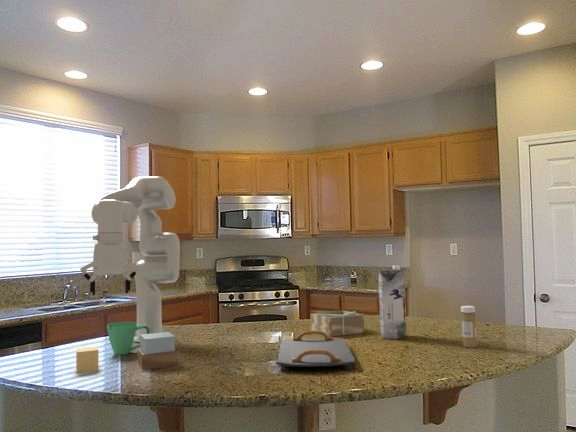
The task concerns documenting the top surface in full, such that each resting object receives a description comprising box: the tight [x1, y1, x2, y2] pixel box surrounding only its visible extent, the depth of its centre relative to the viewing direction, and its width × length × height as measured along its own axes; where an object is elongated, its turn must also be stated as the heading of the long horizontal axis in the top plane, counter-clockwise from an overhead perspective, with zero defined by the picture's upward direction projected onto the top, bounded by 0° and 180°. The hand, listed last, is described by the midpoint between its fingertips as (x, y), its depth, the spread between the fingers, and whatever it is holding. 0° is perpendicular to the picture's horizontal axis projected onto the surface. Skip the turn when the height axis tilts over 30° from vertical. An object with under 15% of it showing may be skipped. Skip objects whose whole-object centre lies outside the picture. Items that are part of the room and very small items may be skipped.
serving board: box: [275, 330, 356, 372], centre depth 153 cm, size 39×23×6 cm, turn 179°
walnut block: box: [137, 348, 177, 370], centre depth 151 cm, size 10×10×4 cm
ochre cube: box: [75, 346, 99, 373], centre depth 146 cm, size 6×6×6 cm
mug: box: [106, 321, 150, 356], centre depth 167 cm, size 15×10×10 cm
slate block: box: [139, 331, 176, 354], centre depth 151 cm, size 9×9×4 cm
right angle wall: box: [317, 311, 357, 334], centre depth 197 cm, size 12×12×8 cm
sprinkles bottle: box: [460, 305, 478, 348], centre depth 163 cm, size 5×5×14 cm
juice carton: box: [378, 265, 407, 340], centre depth 183 cm, size 9×10×27 cm
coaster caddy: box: [309, 310, 365, 337], centre depth 197 cm, size 16×16×7 cm
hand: (110, 293), depth 150 cm, fingers open, 9 cm apart
